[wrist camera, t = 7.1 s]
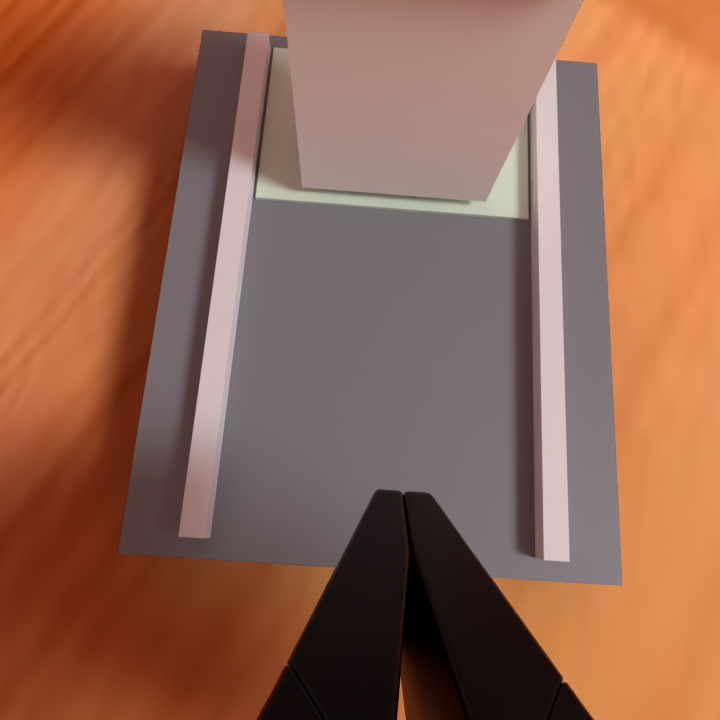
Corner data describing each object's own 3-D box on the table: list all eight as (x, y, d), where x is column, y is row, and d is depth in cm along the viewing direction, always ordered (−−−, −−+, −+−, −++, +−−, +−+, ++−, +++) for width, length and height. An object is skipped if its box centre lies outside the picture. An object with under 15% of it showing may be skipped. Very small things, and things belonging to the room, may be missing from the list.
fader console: (587, 576, 16) (634, 589, 13) (144, 548, 16) (108, 555, 13) (571, 107, 20) (605, 48, 17) (215, 77, 19) (198, 13, 17)
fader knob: (503, 219, 16) (741, -193, 7) (281, 202, 16) (205, -245, 6) (503, 94, 17) (709, -415, 8) (295, 77, 17) (247, -464, 7)
